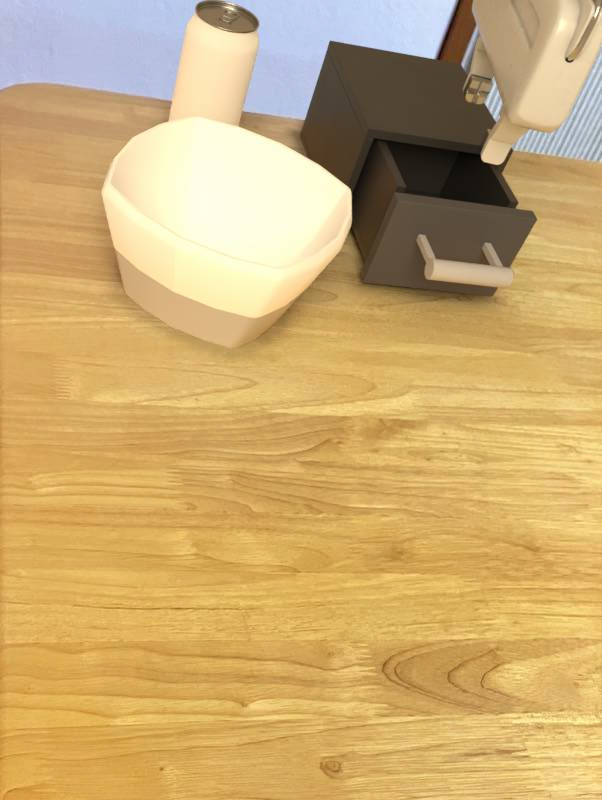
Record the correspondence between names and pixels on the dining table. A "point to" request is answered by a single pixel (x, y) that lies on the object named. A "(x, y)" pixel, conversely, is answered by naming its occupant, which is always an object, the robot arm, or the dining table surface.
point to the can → (216, 62)
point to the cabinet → (387, 108)
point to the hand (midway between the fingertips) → (479, 127)
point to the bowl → (220, 226)
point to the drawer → (436, 220)
